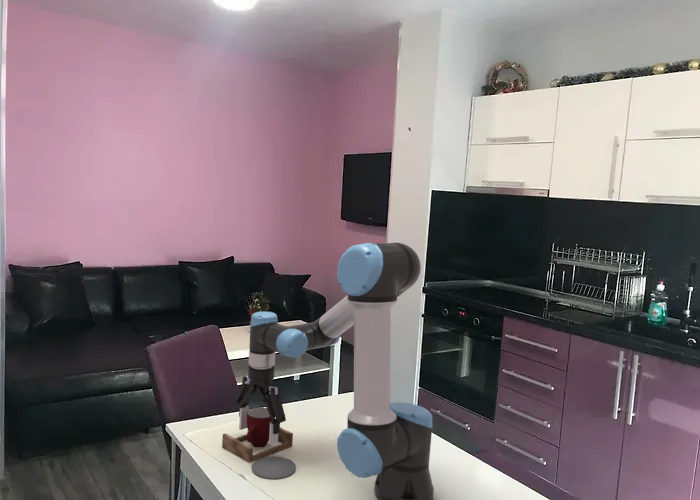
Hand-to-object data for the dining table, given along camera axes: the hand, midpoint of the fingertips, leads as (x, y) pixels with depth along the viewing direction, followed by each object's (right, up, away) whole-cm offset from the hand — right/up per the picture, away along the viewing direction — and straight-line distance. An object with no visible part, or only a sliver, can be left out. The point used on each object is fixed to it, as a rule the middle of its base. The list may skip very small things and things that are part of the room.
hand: (258, 435), depth 168 cm
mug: (0, -4, 0) cm, 4 cm away
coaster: (+6, -5, -12) cm, 14 cm away
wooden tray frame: (0, -3, 0) cm, 3 cm away
